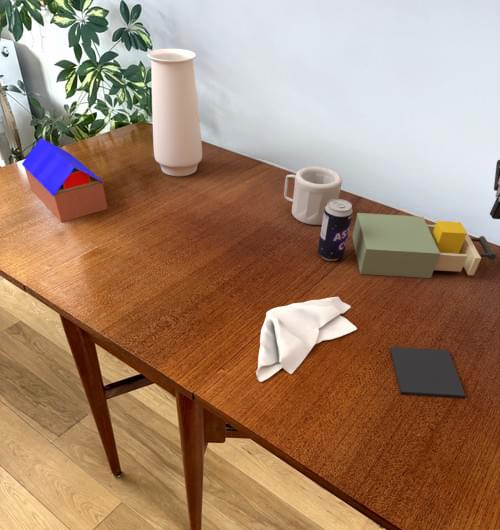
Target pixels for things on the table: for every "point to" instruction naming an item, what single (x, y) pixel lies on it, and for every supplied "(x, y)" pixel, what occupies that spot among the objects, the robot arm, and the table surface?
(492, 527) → the table surface
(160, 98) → the vase
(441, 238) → the yellow block
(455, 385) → the mat
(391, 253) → the cabinet
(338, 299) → the cloth
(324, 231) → the beverage can
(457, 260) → the drawer
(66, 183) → the house
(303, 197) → the mug
